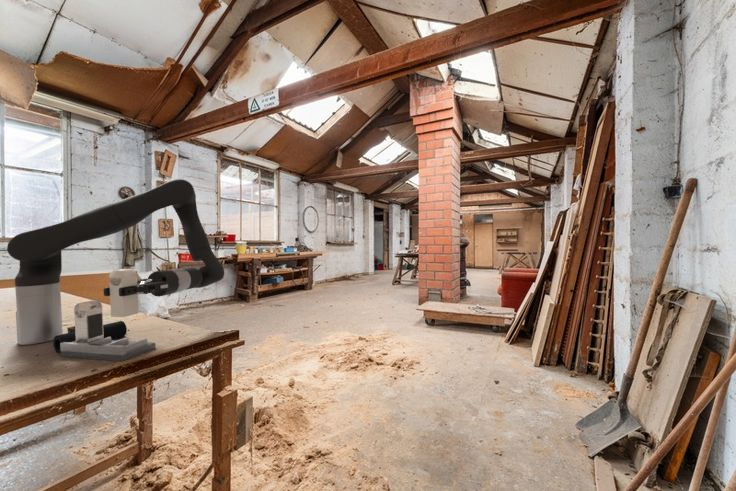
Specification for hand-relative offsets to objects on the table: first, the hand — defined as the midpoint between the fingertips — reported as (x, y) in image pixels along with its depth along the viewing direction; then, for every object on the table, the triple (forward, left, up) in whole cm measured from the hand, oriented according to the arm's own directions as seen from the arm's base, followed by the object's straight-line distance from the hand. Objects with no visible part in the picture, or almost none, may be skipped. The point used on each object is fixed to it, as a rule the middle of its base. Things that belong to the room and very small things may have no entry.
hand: (112, 292), depth 76 cm
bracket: (-6, +3, -17) cm, 18 cm away
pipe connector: (-21, +8, -17) cm, 29 cm away
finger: (0, +3, -6) cm, 7 cm away
